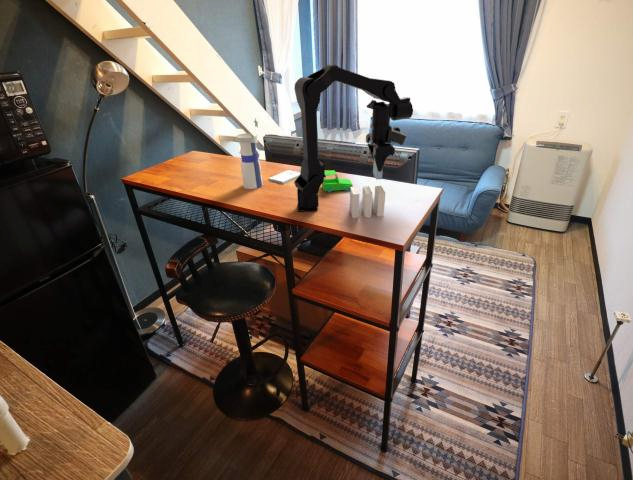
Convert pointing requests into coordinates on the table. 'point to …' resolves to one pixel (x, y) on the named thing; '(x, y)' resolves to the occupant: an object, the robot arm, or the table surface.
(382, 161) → the robot arm
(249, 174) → the water bottle
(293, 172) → the external hard drive
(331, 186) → the toy car
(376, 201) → the tile
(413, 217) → the table surface
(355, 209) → the tile
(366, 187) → the tile
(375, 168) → the tile
